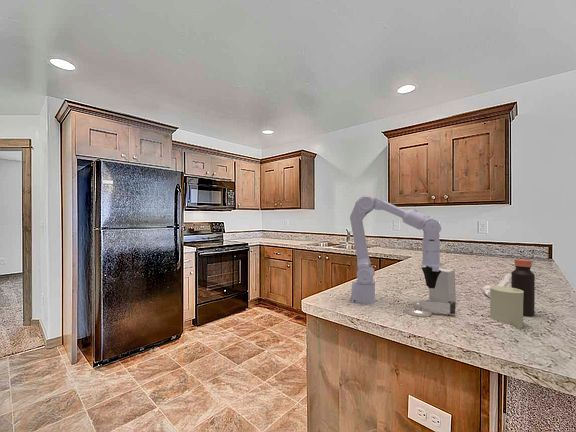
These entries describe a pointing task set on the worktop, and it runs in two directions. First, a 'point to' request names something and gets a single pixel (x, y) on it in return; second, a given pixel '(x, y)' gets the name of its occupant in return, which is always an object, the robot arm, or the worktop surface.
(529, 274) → the bottle
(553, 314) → the worktop surface
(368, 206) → the robot arm
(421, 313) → the crank handle
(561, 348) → the worktop surface
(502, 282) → the plastic part
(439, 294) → the skincare box
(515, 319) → the can
